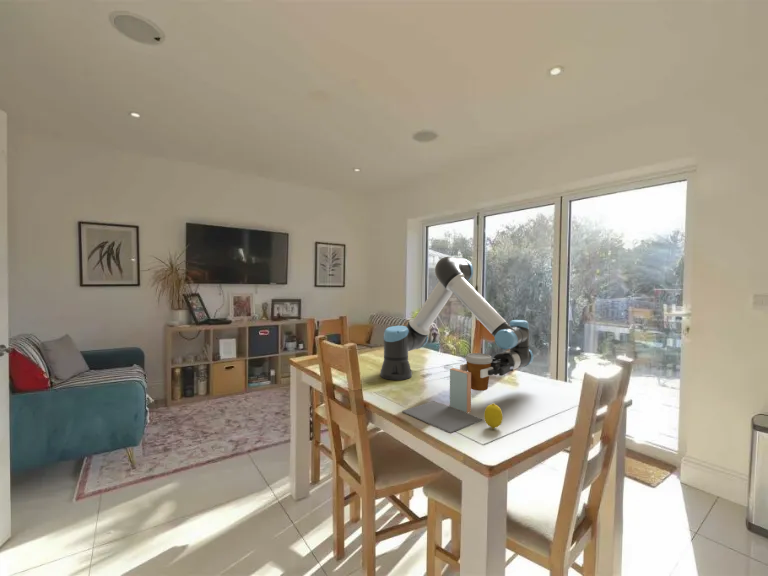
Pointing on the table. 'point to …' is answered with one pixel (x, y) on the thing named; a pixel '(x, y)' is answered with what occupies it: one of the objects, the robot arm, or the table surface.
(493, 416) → the lemon
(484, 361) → the disposable coffee cup
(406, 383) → the table surface
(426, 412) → the mat
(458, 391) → the tile
